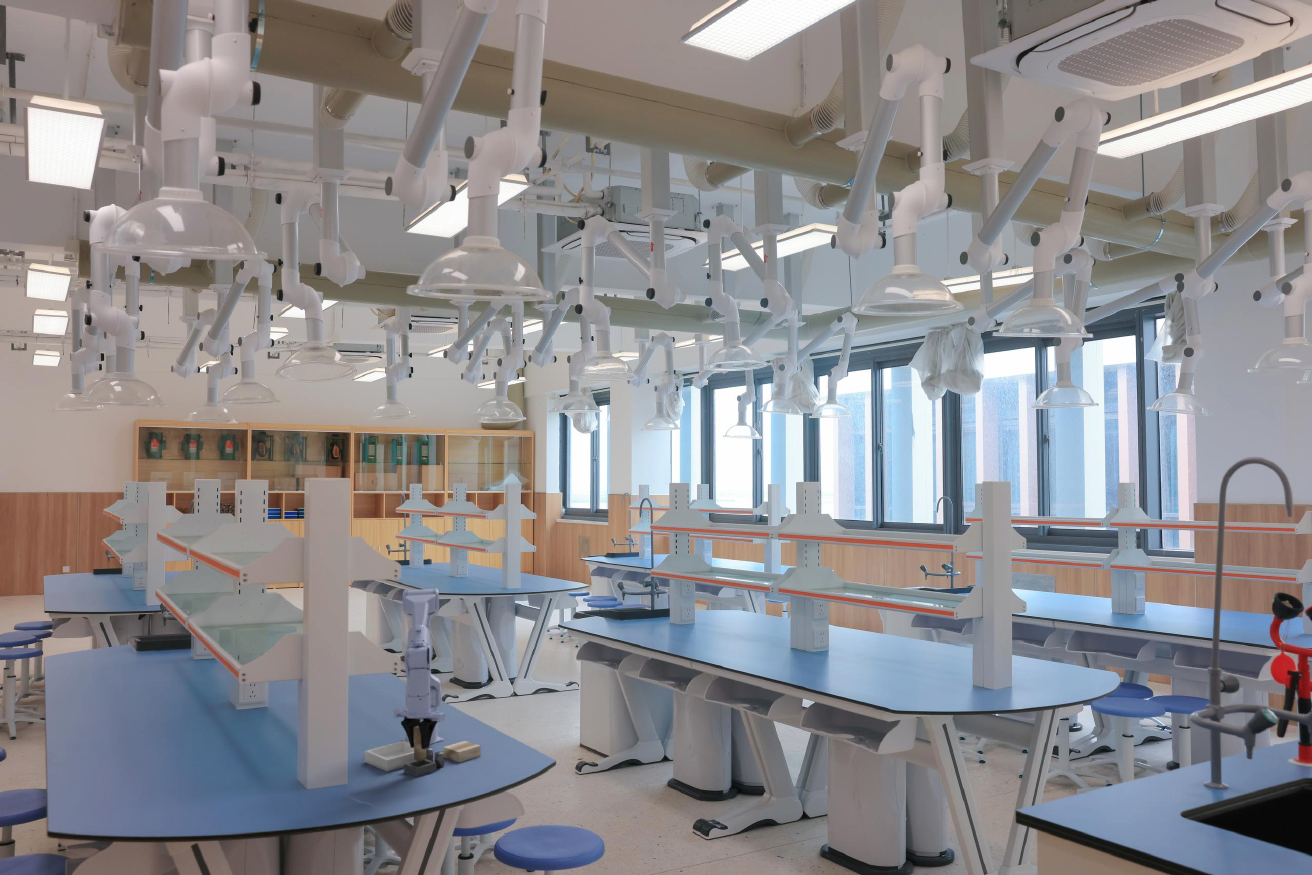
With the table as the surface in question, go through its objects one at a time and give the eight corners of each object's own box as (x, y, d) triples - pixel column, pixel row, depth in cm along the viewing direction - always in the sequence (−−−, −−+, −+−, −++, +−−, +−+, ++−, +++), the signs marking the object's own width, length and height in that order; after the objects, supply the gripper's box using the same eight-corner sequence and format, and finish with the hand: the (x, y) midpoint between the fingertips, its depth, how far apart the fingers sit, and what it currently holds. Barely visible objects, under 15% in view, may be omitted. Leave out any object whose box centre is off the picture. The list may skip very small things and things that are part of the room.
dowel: (411, 759, 243) (411, 728, 243) (419, 756, 245) (418, 725, 246) (421, 761, 242) (420, 729, 242) (428, 757, 244) (427, 726, 244)
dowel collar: (404, 771, 243) (404, 763, 243) (424, 765, 248) (423, 758, 248) (416, 776, 239) (416, 768, 239) (436, 770, 243) (436, 762, 243)
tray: (364, 762, 252) (364, 750, 252) (403, 751, 260) (403, 740, 260) (387, 771, 244) (387, 759, 244) (426, 760, 252) (426, 749, 252)
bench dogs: (422, 762, 250) (422, 749, 250) (430, 760, 252) (429, 746, 252) (437, 768, 245) (437, 754, 245) (445, 765, 247) (445, 752, 247)
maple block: (443, 758, 255) (443, 746, 255) (465, 751, 260) (464, 740, 260) (459, 763, 250) (458, 751, 250) (480, 756, 255) (480, 745, 255)
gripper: (385, 695, 243) (386, 748, 243) (432, 700, 237) (433, 754, 237) (403, 689, 249) (404, 740, 249) (449, 693, 244) (450, 746, 243)
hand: (419, 747), depth 244 cm, fingers closed on dowel, 3 cm apart
